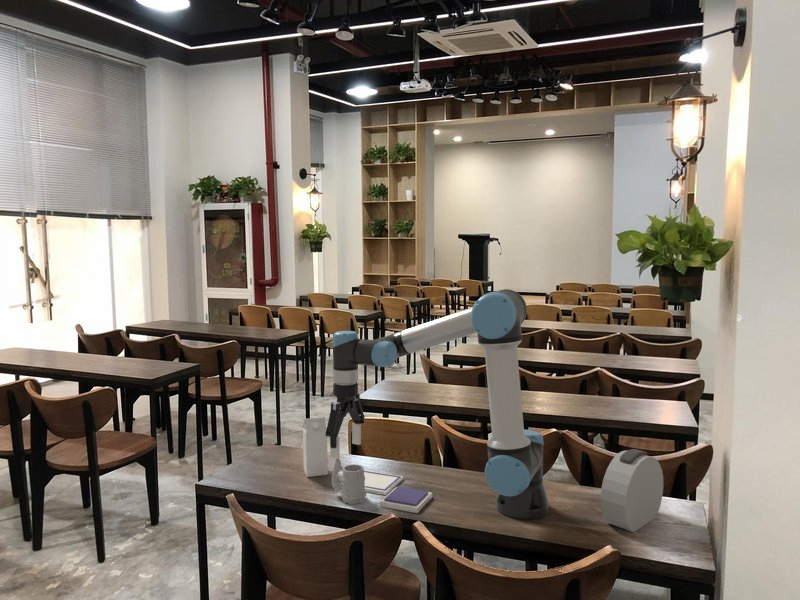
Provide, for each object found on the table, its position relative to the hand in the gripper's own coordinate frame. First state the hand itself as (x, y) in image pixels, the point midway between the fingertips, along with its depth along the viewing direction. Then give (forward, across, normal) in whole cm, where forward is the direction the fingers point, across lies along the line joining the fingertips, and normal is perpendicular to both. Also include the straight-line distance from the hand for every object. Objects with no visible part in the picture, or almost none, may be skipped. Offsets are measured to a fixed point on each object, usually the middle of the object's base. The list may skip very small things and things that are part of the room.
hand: (346, 450), depth 187 cm
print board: (+15, -13, +2) cm, 20 cm away
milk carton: (+15, -14, -20) cm, 28 cm away
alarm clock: (+14, -17, +81) cm, 84 cm away
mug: (+15, 0, +1) cm, 15 cm away
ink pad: (+14, -4, +18) cm, 24 cm away
